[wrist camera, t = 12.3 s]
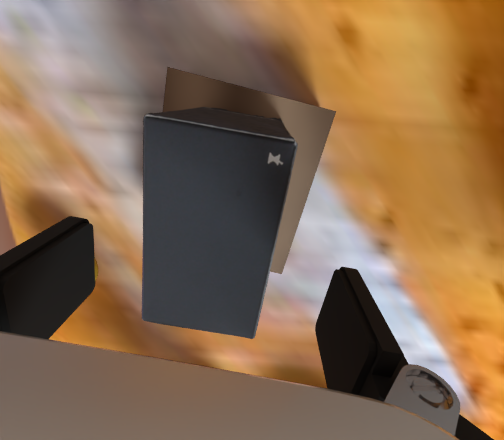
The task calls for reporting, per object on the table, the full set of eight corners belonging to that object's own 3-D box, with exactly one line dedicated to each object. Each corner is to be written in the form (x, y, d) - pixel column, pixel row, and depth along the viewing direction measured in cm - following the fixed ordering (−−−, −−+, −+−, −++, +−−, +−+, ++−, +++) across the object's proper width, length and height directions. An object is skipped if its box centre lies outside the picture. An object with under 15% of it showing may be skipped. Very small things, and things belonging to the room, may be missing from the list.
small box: (194, 103, 20) (133, 104, 10) (285, 118, 20) (307, 135, 11) (184, 235, 24) (134, 325, 14) (260, 247, 24) (259, 343, 15)
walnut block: (319, 109, 25) (336, 111, 20) (278, 242, 31) (281, 273, 25) (188, 74, 25) (167, 66, 19) (169, 217, 30) (148, 244, 25)
